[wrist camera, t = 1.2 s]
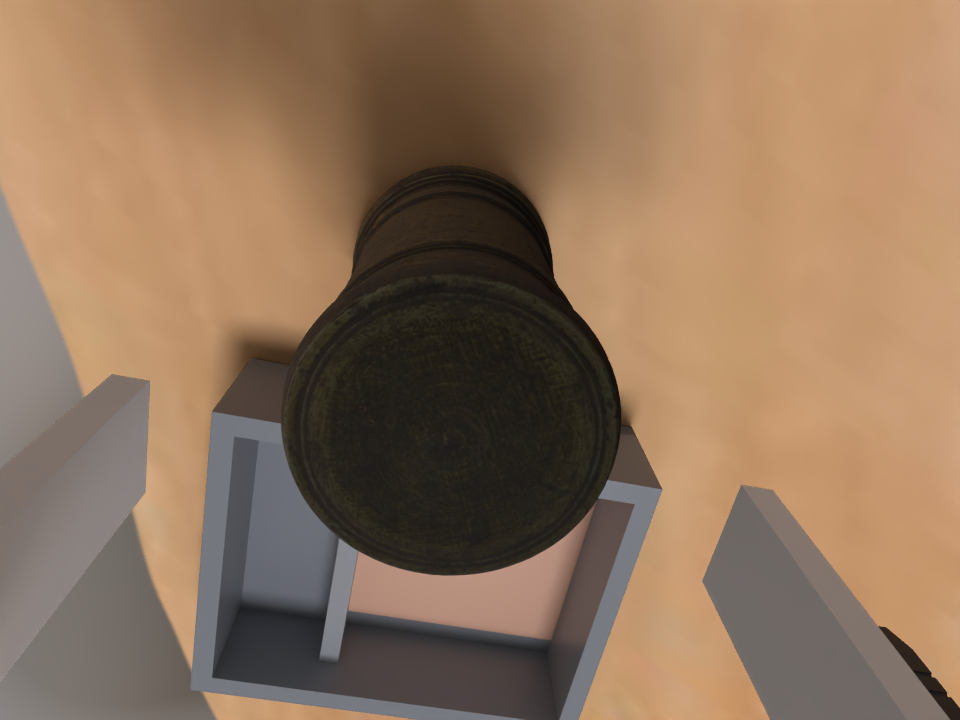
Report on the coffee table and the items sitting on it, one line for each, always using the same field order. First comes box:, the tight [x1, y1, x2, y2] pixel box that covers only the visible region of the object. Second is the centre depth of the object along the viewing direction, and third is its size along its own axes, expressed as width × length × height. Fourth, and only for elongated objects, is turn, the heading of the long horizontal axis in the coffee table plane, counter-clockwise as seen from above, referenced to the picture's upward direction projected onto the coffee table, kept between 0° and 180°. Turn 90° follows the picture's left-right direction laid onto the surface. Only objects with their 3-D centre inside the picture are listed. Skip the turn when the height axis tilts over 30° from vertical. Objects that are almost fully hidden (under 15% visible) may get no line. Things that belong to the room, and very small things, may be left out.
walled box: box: [191, 358, 662, 720], centre depth 36 cm, size 16×20×6 cm
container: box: [281, 166, 621, 576], centre depth 25 cm, size 9×9×18 cm
